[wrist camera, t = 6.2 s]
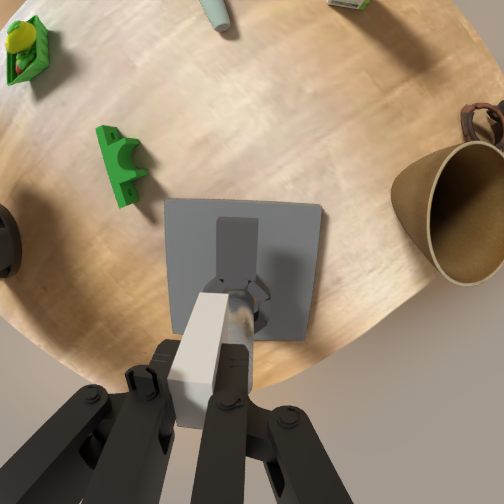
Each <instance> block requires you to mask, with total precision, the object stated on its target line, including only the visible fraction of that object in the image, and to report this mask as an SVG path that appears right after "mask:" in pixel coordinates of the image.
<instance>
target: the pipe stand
mask: <svg viewBox="0 0 504 504" xmlns="http://www.w3.org/2000/svg"><path fill="white" fill-rule="evenodd" d="M321 214H322V206H320V205H319V204H307V203H291V202H274V201H253V200H227V199H180V198H168V199H166V200H164V220H165V246H166V263H167V278H168V291H169V302H170V313H171V322H172V331H173V334H181V335H184V332H185V329H186V327H187V324H188V321H189V319H190V316H191V314H192V311H193V308H194V306H195V303H196V301H197V298H198V296H199V293H200V292H203V289H204V287H205V285H206V284H207V283H209V282H210V281H211V280H212V279H213V278H214V277H215V276H216V220H217V219H218V217H245V218H258V219H259V224H258V244H257V264H256V276H257V277H258V278H259V279H260V280H261V281H262V282H263V283H264V284H265V285H266V286H267V287H268V288H269V293H270V296H271V307H270V319H269V321H267V325H266V326H265V327H264V328H262V329H261V330H260V331H258V332H257V333H256V334H254V339H253V340H285V341H305V337H306V331H307V325H308V319H309V312H310V305H311V298H312V291H313V284H314V276H315V269H316V260H317V252H318V243H319V234H320V224H321ZM258 306H259V302H258V301H257V300H256V302H255V304H254V313H255V312H256V311H258Z"/></svg>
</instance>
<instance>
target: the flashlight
mask: <svg viewBox="0 0 504 504" xmlns="http://www.w3.org/2000/svg"><path fill="white" fill-rule="evenodd" d="M199 1H200V3H201V5H202V7H203V9H204V11H205V13H206V15H207V17H208V19H209V21H210V23H211V24H212V26H213V28H214V30H215V31H219V32H223V31H226V30H227V29H228V28H229V27H230V26H231V23H230V20H229V16H228V13H227V10H226V6H225V3H224V1H223V0H199Z"/></svg>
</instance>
